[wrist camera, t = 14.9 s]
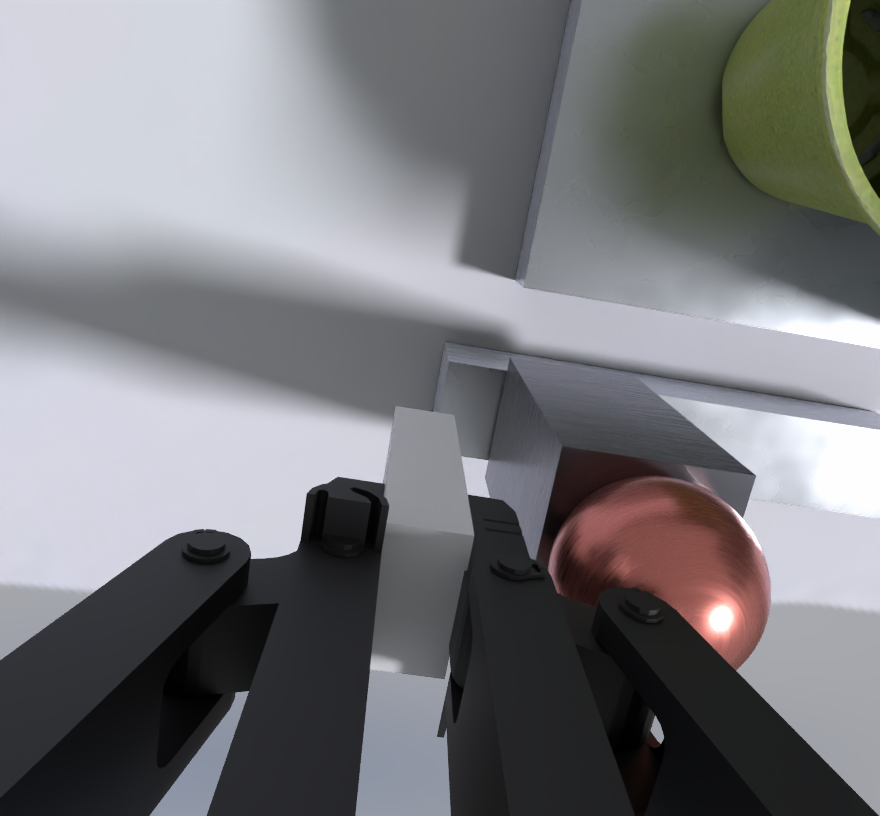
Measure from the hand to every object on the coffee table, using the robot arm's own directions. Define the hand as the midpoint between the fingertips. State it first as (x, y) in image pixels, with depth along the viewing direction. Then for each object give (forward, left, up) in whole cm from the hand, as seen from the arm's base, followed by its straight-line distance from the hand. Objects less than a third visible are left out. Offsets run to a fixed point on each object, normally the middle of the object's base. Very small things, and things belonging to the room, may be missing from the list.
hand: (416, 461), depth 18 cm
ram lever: (+5, 0, -4) cm, 6 cm away
